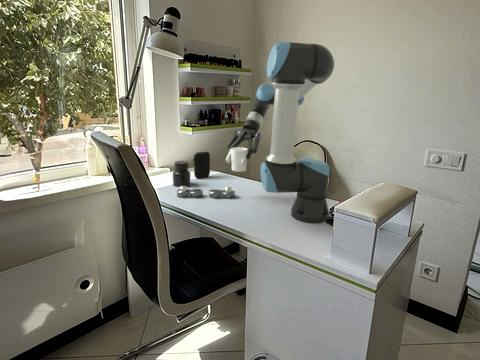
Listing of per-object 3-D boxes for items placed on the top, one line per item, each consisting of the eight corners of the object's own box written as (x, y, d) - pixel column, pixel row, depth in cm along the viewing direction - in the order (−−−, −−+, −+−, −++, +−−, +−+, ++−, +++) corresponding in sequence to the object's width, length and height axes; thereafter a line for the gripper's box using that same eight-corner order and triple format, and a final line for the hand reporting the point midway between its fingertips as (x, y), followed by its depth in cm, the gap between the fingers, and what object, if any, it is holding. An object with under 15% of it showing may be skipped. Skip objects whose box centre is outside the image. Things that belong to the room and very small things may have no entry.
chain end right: (234, 198, 148) (234, 189, 147) (208, 198, 148) (208, 189, 147) (234, 194, 154) (234, 185, 153) (209, 194, 154) (209, 185, 152)
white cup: (228, 171, 147) (228, 150, 144) (232, 167, 154) (232, 146, 151) (245, 172, 145) (245, 151, 142) (248, 168, 153) (249, 147, 150)
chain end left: (202, 198, 148) (202, 188, 146) (176, 197, 147) (175, 188, 146) (203, 194, 153) (203, 185, 152) (178, 193, 153) (177, 184, 152)
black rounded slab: (194, 179, 177) (194, 153, 173) (191, 178, 179) (191, 152, 175) (210, 177, 183) (211, 151, 179) (208, 175, 186) (208, 150, 181)
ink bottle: (186, 181, 174) (185, 159, 170) (194, 185, 167) (193, 162, 164) (169, 183, 168) (168, 161, 165) (176, 188, 161) (176, 165, 158)
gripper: (274, 130, 152) (257, 170, 144) (237, 126, 162) (219, 164, 153) (270, 120, 146) (252, 161, 138) (231, 117, 156) (213, 155, 147)
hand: (235, 162), depth 146 cm, fingers closed on white cup, 8 cm apart
